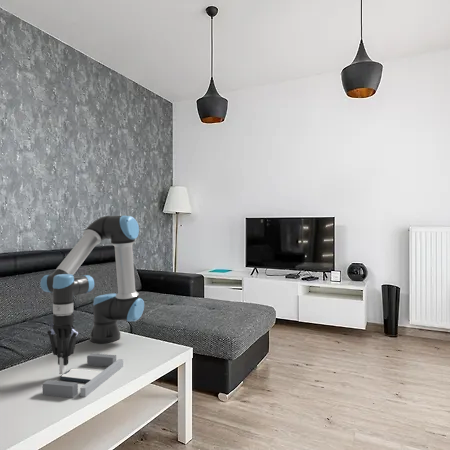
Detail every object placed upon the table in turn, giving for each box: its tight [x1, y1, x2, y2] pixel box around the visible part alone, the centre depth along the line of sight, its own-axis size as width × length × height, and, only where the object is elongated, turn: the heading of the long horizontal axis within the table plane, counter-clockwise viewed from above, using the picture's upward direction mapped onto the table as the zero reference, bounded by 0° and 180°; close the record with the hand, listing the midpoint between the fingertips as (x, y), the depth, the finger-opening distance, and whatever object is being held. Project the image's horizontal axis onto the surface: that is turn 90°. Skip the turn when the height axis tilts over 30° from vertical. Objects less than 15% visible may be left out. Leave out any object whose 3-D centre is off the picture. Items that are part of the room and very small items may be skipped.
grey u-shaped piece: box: [42, 353, 124, 399], centre depth 146 cm, size 31×16×4 cm, turn 168°
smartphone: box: [59, 368, 103, 384], centre depth 147 cm, size 9×2×16 cm
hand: (63, 372), depth 148 cm, fingers closed
